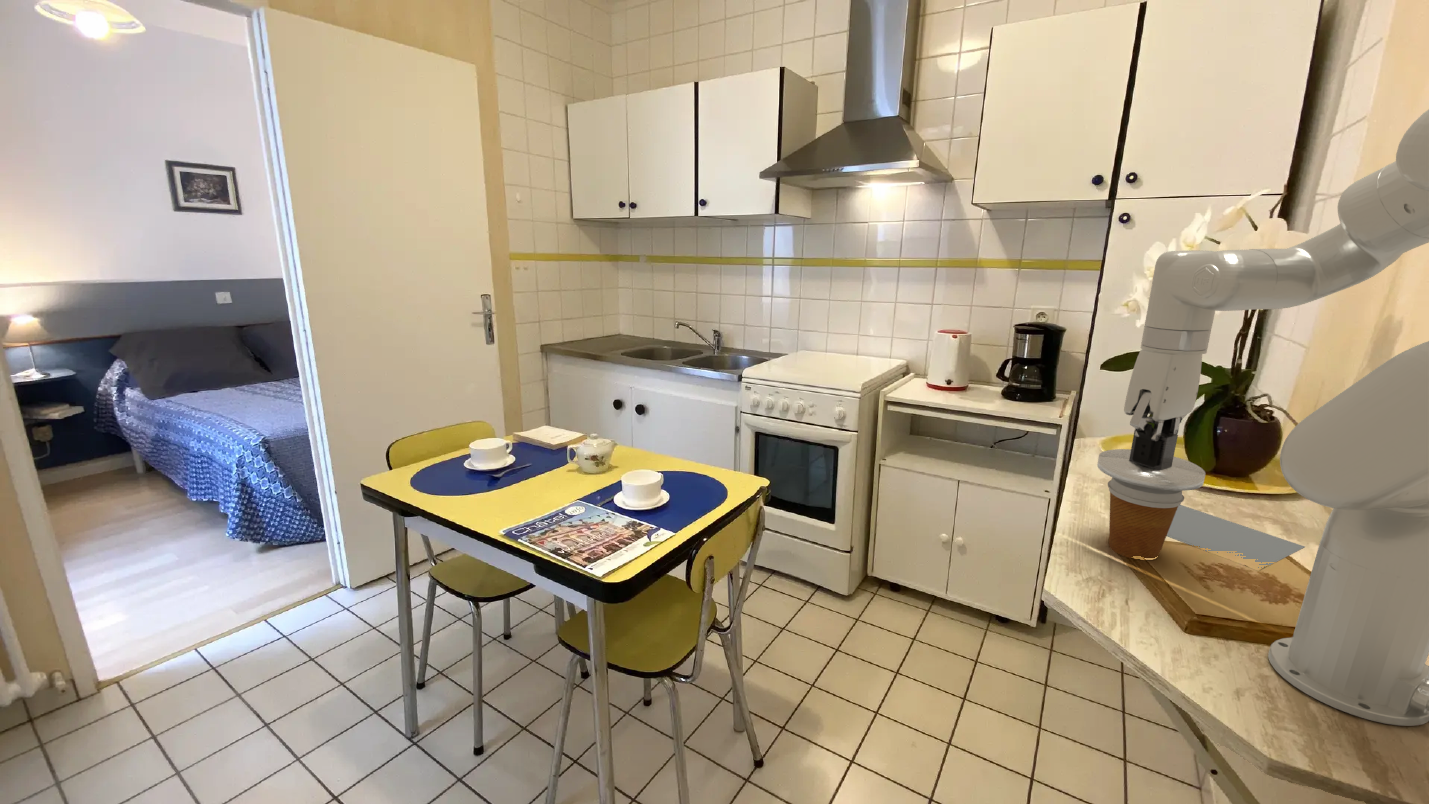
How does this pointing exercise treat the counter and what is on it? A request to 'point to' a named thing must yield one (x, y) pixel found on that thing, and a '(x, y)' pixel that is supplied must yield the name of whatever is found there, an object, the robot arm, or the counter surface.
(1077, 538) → the counter surface
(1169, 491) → the disposable coffee cup
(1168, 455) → the lid
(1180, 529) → the mat
